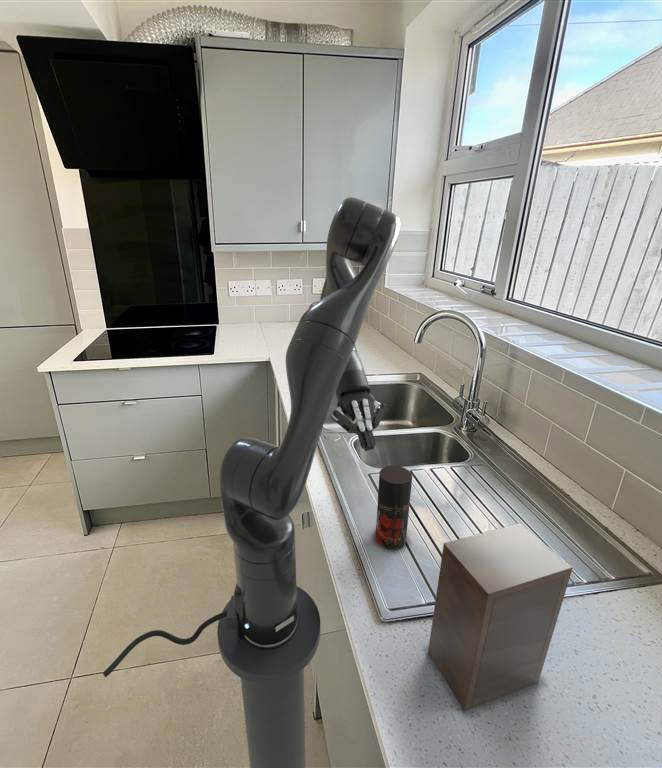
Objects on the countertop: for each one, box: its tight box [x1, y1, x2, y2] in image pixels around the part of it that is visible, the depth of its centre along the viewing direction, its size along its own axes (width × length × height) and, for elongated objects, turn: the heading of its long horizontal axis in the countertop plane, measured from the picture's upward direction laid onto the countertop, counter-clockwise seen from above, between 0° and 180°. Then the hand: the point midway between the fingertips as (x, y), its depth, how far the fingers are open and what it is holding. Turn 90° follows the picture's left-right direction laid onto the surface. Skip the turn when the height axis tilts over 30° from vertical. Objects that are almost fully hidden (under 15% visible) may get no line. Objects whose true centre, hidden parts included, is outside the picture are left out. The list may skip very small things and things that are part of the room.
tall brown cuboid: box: [427, 522, 573, 712], centre depth 53 cm, size 8×12×20 cm
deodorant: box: [374, 465, 413, 551], centre depth 77 cm, size 6×6×15 cm
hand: (369, 449), depth 84 cm, fingers closed
